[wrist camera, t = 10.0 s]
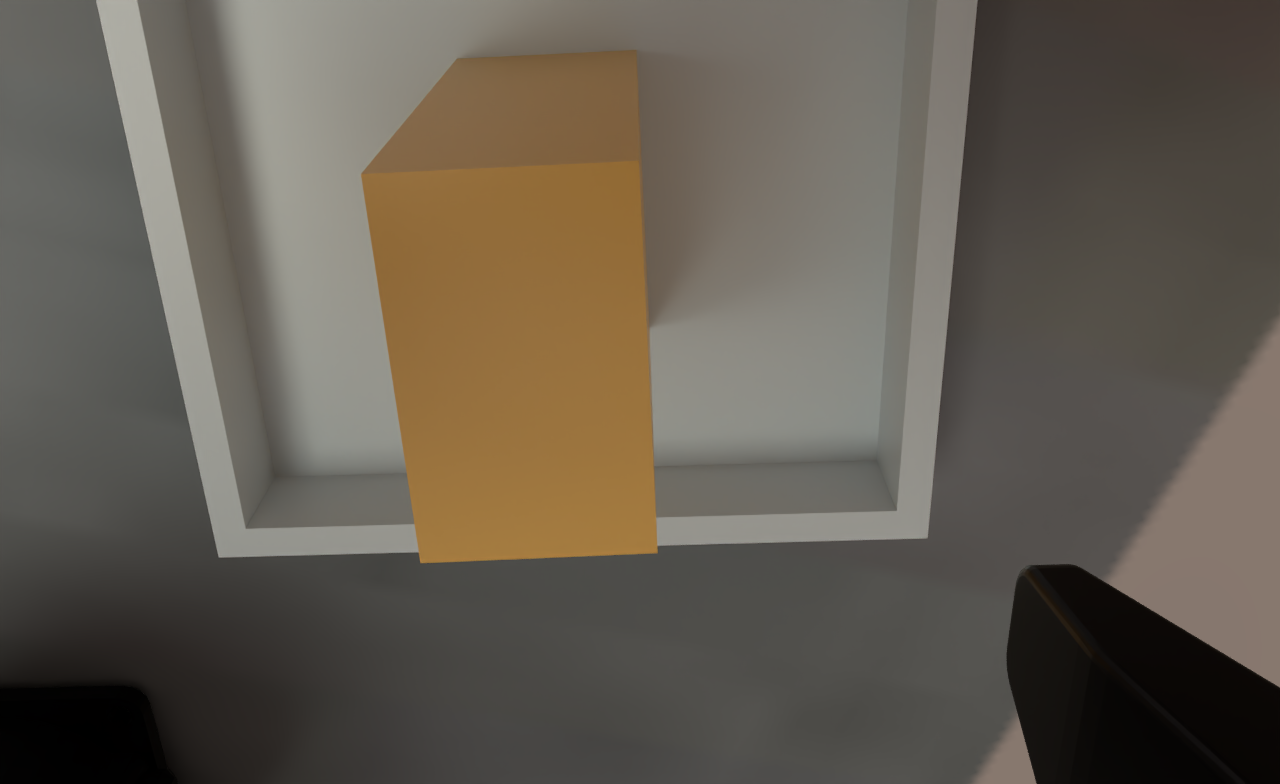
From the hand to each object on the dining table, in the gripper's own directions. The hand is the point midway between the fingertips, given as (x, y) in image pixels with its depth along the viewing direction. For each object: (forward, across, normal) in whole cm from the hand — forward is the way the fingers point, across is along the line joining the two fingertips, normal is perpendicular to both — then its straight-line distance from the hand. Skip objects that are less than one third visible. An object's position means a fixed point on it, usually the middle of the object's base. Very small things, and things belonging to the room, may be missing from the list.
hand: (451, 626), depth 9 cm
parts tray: (+13, 0, 0) cm, 13 cm away
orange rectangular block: (+12, 0, 0) cm, 12 cm away
